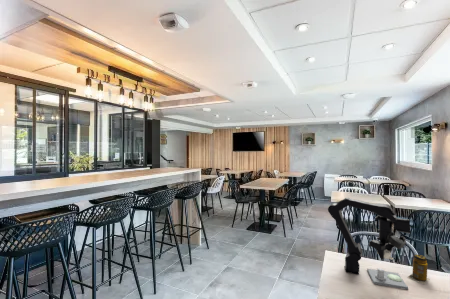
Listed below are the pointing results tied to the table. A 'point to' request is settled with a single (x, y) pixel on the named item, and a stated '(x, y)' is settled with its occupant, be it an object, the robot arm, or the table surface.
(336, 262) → the table surface
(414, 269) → the condiment
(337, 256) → the table surface
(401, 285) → the post board
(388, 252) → the cream rounded dome
